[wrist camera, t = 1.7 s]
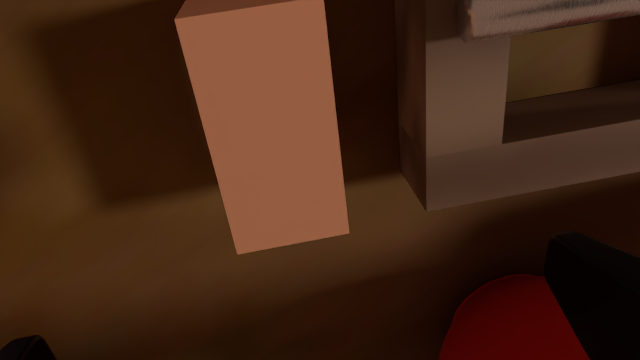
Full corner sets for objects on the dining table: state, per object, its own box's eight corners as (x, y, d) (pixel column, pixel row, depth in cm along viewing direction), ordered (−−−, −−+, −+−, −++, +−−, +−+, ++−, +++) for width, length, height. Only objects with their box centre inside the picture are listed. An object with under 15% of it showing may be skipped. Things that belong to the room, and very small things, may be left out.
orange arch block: (324, 162, 21) (349, 233, 17) (237, 178, 21) (237, 254, 16) (300, -27, 17) (323, -4, 13) (191, -11, 17) (174, 19, 12)
